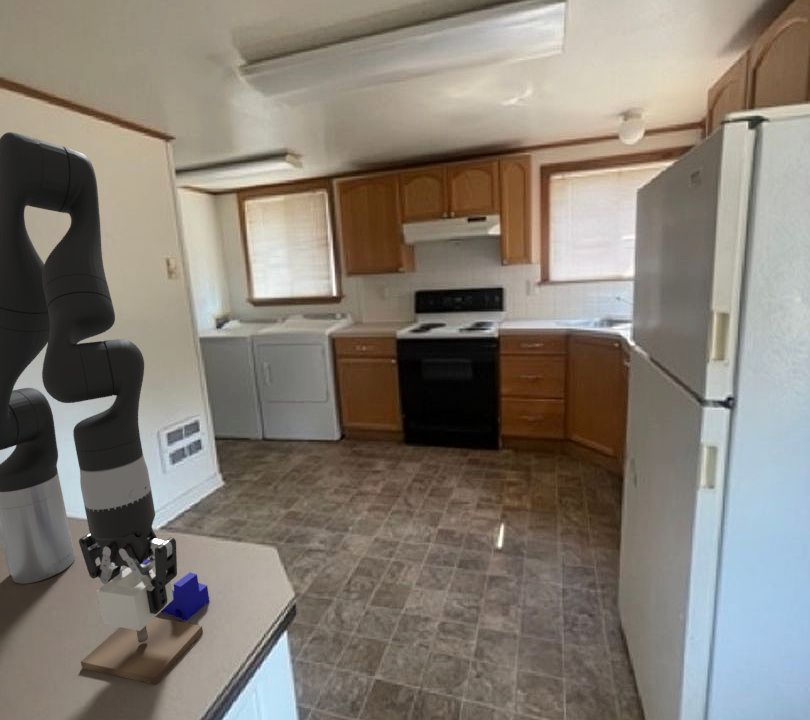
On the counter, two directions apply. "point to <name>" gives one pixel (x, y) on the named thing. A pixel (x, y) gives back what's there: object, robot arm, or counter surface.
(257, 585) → the counter surface
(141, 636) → the pin base
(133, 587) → the white hollow square block
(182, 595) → the blue curved saddle bracket
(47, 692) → the counter surface
